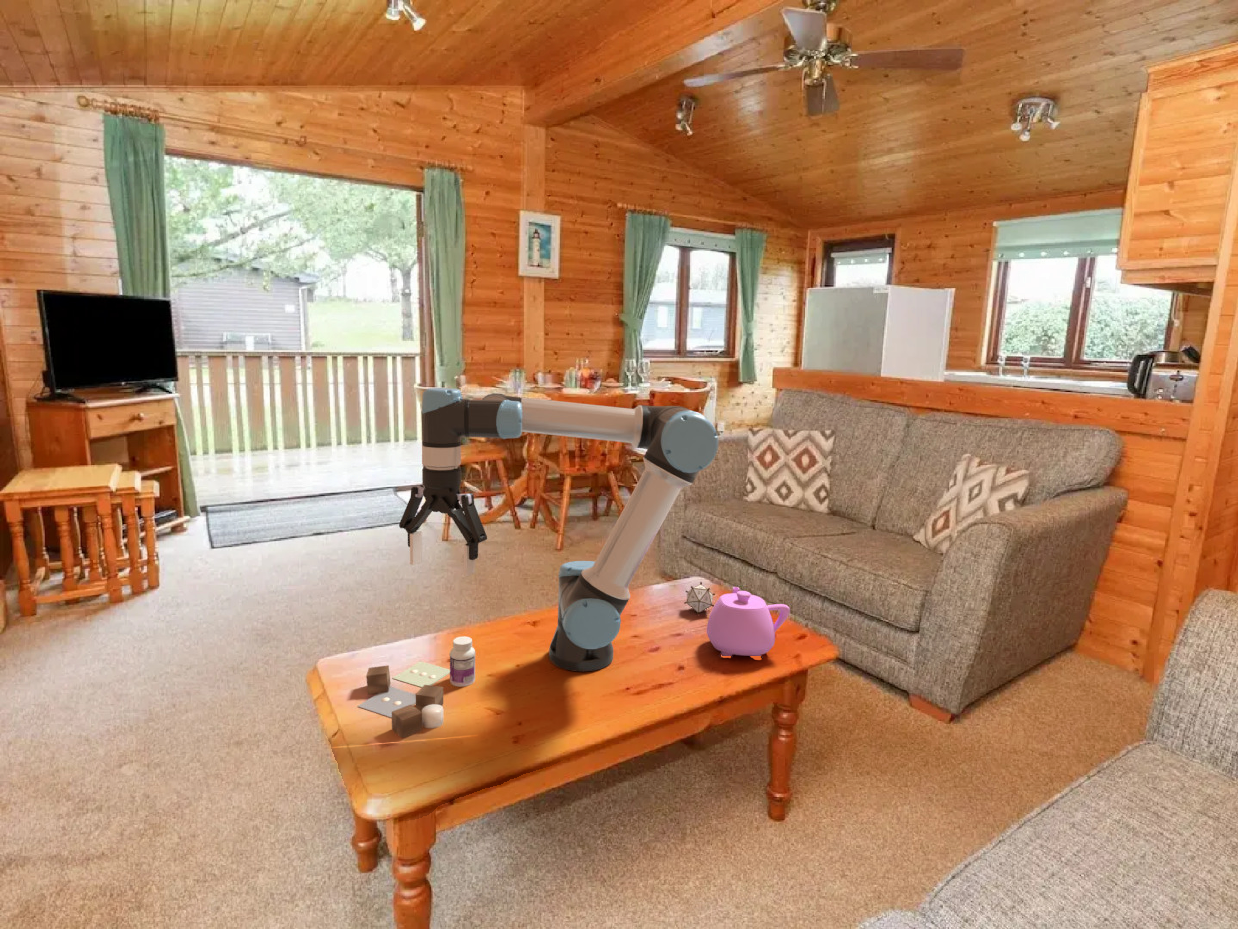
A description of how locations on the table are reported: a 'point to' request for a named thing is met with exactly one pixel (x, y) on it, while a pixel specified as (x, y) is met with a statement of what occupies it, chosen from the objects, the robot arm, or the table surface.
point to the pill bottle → (462, 662)
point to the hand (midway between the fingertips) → (442, 568)
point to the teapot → (743, 624)
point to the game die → (699, 598)
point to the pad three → (422, 674)
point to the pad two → (389, 701)
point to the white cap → (432, 716)
